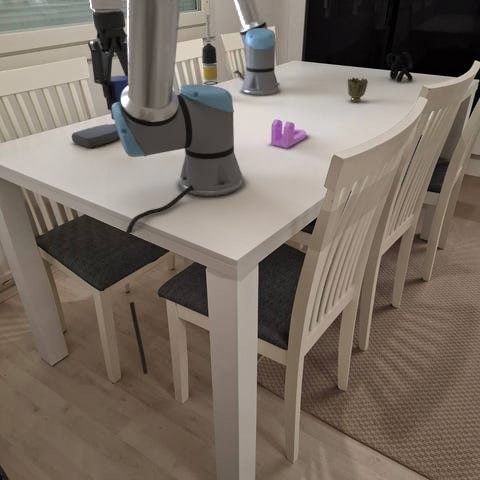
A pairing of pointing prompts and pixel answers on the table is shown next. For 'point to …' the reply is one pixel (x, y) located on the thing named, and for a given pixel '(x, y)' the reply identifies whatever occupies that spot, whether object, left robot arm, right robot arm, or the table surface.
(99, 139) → the dark grey flat piece
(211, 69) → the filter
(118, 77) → the can
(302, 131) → the bracket
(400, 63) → the squiggle
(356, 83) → the cup
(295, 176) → the table surface
